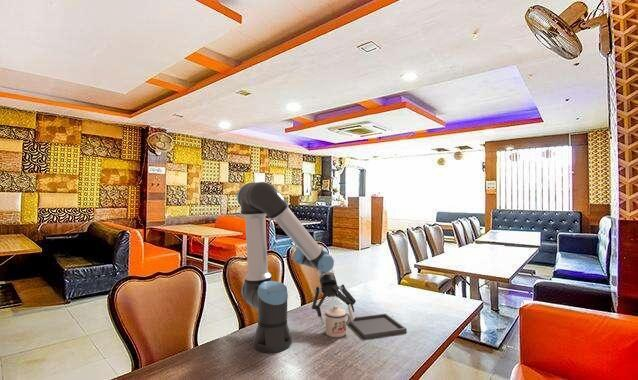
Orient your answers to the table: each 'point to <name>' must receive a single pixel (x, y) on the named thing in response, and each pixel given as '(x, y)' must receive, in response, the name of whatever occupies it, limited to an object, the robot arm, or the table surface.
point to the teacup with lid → (336, 322)
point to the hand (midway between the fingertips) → (338, 321)
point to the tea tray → (377, 326)
